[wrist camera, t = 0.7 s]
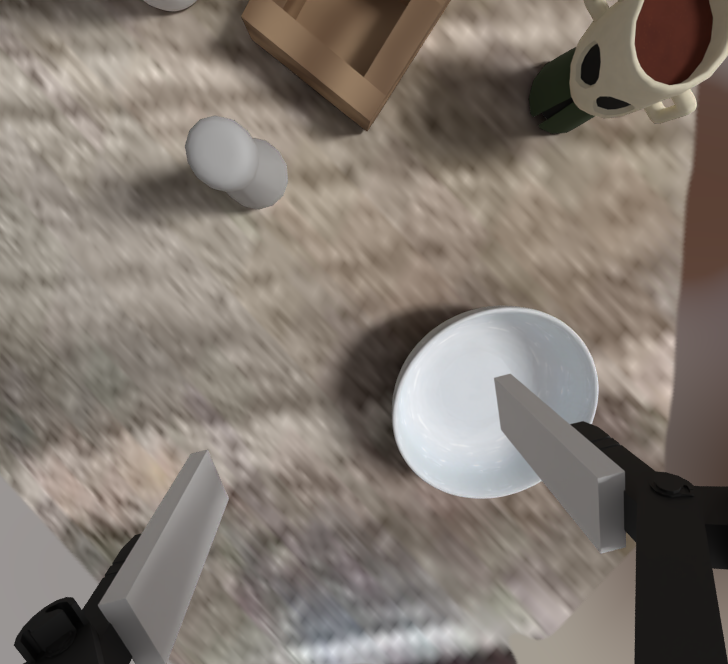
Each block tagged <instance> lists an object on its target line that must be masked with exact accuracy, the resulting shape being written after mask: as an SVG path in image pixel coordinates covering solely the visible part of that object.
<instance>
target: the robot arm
mask: <svg viewBox="0 0 728 664" xmlns="http://www.w3.org/2000/svg"><path fill="white" fill-rule="evenodd" d="M494 382H495V390H496V397H497V404H498V412H499V419H500V427H501V431H502V432H503V433H504V434H505V435H506V437H507V438H508V439H509V440H510V442H511V443H512V444H513V445H514V447H515V448H516V449H517V450H518V452H519V453H520V454H521V455H522V457H523V458H524V459H525V460H526V461H527V463H528V464H529V465H530V466H531V468H532V469H533V470H534V471H535V473H536V474H537V475H538V476H539V478H540V479H541V480H542V481H543V483H544V484H545V485H546V486H547V488H548V489H549V490H550V491H551V492H552V494H553V495H554V496H555V497H556V499H557V500H558V501H559V502H560V504H561V505H562V506H563V507H564V509H565V510H566V511H567V512H568V514H569V515H570V516H571V517H572V518H573V520H574V521H575V522H576V523H577V525H578V526H579V527H580V528H581V530H582V531H583V532H584V533H585V535H586V536H587V537H588V538H589V540H590V541H591V542H592V543H593V545H594V546H595V547H596V548H597V549H598V551H599V552H600V553H605V552H609V551H613V550H616V549H620V548H624V547H626V532H627V533H628V534H629V535H630V537H631V538H632V539H633V540H634V541H635V542H636V597H635V602H636V603H635V664H728V661H727V655H726V649H725V642H724V637H723V630H722V625H721V619H720V613H719V607H718V600H717V595H716V588H715V583H714V576H713V570H712V568H714V569H715V568H716V569H728V487H711V486H710V487H709V486H693V485H692V484H691V483H690V482H689V481H687V480H685V479H683V478H681V477H679V476H677V475H673V474H669V473H666V472H656V471H654V470H653V469H652V468H650V467H649V466H648V465H647V464H645V463H644V462H643V461H641V460H640V459H639V458H638V457H636V456H635V455H634V454H632V453H631V452H630V451H628V450H627V449H626V448H625V447H623V446H622V445H621V446H620V444H619V443H618V442H617V441H616V440H614V439H613V438H610V436H609V435H608V434H607V433H605V432H604V431H603V430H601V429H600V428H599V427H597V426H594V425H592V424H589V423H587V422H584V421H581V422H577V423H573V424H569V423H568V422H567V421H565V420H564V419H563V418H562V417H561V416H560V415H558V414H557V413H556V412H555V411H554V410H553V409H551V408H550V407H549V406H548V405H547V404H546V403H544V402H543V401H542V400H541V399H540V398H539V397H537V396H536V395H535V394H534V393H533V392H531V391H530V390H529V389H528V388H527V387H526V386H524V385H523V384H522V383H521V382H520V381H519V380H517V379H516V378H515V377H514V376H513V375H512V374H507V375H503V376H499V377H495V378H494ZM228 500H229V497H228V495H227V493H226V491H225V488H224V486H223V484H222V481H221V479H220V477H219V474H218V472H217V470H216V467H215V465H214V463H213V461H212V458H211V456H210V454H209V451H208V450H204V451H200V452H196V453H192V454H190V456H189V458H188V459H187V461H186V463H185V464H184V466H183V467H182V469H181V471H180V472H179V474H178V476H177V477H176V479H175V480H174V482H173V484H172V485H171V487H170V489H169V490H168V492H167V494H166V495H165V497H164V498H163V500H162V502H161V503H160V505H159V507H158V508H157V510H156V511H155V513H154V515H153V516H152V518H151V520H150V521H149V523H148V524H147V526H146V528H145V529H144V531H143V533H142V534H138V535H135V536H134V537H133V538H132V539H131V540H130V541H129V542H128V543H127V544H126V545H125V546H124V547H123V548H122V549H121V551H120V552H119V554H118V555H117V557H116V558H115V560H114V562H113V565H112V566H110V568H109V569H108V571H107V572H106V574H105V578H103V579H102V580H101V582H100V583H99V585H98V586H97V588H96V589H95V591H94V592H93V594H92V596H91V597H90V599H89V600H88V602H87V603H86V605H85V606H84V608H83V609H82V610H81V608H80V607H79V605H78V604H77V602H76V601H75V600H74V598H71V597H65V598H62V599H59V600H56V601H55V602H53V603H51V604H49V605H48V606H46V607H44V608H43V609H42V610H41V611H39V612H38V613H37V614H36V615H34V616H33V617H32V618H31V619H30V620H29V621H28V623H27V624H26V625H25V626H24V627H23V628H22V630H21V631H20V633H19V634H18V635H17V637H16V640H15V644H14V646H15V647H16V649H17V650H18V651H19V652H20V654H21V655H22V656H23V658H24V659H25V660H26V661H27V662H26V663H24V664H129V663H130V661H131V659H133V661H134V662H135V664H167V661H168V659H169V656H170V653H171V651H172V648H173V645H174V643H175V640H176V637H177V635H178V632H179V629H180V627H181V624H182V621H183V619H184V616H185V614H186V611H187V608H188V606H189V603H190V600H191V598H192V595H193V592H194V590H195V587H196V584H197V582H198V579H199V576H200V574H201V571H202V568H203V566H204V563H205V561H206V558H207V555H208V553H209V550H210V547H211V545H212V542H213V539H214V537H215V534H216V531H217V529H218V526H219V523H220V521H221V518H222V515H223V513H224V510H225V507H226V505H227V502H228Z"/></svg>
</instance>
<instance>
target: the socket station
mask: <svg viewBox="0 0 728 664" xmlns="http://www.w3.org/2000/svg"><path fill="white" fill-rule="evenodd" d="M450 1H451V0H249V2H248V4H247V6H246V8H245V10H244V12H243V14H242V16H241V17H242V20H243V22H244V24H245V26H246V28H247V30H248V32H249V35H250V37H251V39H252V40H253V41H254V42H256V43H257V44H258V45H259V46H261V47H262V48H263V49H264V50H266V51H267V52H268V53H269V54H271V55H272V56H273V57H274V58H276V59H277V60H278V61H279V62H281V63H282V64H283V65H284V66H286V67H287V68H288V69H289V70H291V71H292V72H293V73H294V74H296V75H297V76H298V77H299V78H301V79H302V80H303V81H304V82H306V83H307V84H308V85H309V86H311V87H312V88H313V89H314V90H316V91H317V92H318V93H319V94H321V95H322V96H323V97H324V98H326V99H327V100H328V101H329V102H331V103H332V104H333V105H334V106H336V107H337V108H338V109H339V110H341V111H342V112H343V113H344V114H346V115H347V116H348V117H349V118H351V119H352V120H353V121H354V122H356V123H357V124H358V125H359V126H361V127H362V128H363V129H364V130H366V131H368V130H369V128H370V126H371V125H372V123H373V122H374V121H375V119H376V118H377V116H378V114H379V113H380V111H381V110H382V108H383V107H384V105H385V103H386V102H387V100H388V99H389V97H390V96H391V94H392V92H393V91H394V89H395V88H396V86H397V84H398V83H399V81H400V80H401V78H402V77H403V75H404V73H405V72H406V70H407V69H408V67H409V65H410V64H411V62H412V61H413V59H414V58H415V56H416V54H417V53H418V51H419V50H420V48H421V47H422V45H423V43H424V42H425V40H426V39H427V37H428V35H429V34H430V32H431V31H432V29H433V28H434V26H435V24H436V23H437V21H438V20H439V18H440V17H441V15H442V13H443V12H444V10H445V9H446V7H447V5H448V4H449V2H450Z"/></svg>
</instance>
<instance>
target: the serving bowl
mask: <svg viewBox="0 0 728 664" xmlns="http://www.w3.org/2000/svg"><path fill="white" fill-rule="evenodd" d="M507 374H512V375H513V376H514V377H515V378H516V379H517V380H519V381H520V382H521V383H522V384H523V385H524V386H526V387H527V388H528V389H529V390H530V391H531V392H533V393H534V394H535V395H536V396H537V397H539V398H540V399H541V400H542V401H543V402H544V403H546V404H547V405H548V406H549V407H550V408H551V409H553V410H554V411H555V412H556V413H557V414H558V415H560V416H561V417H562V418H563V419H564V420H565V421H567V422H568V423H569V424H573V423H577V422H581V421H584V422H587V423H589V424H592V422H593V418H594V415H595V412H596V407H597V402H598V377H597V372H596V368H595V364H594V361H593V358H592V356H591V354H590V352H589V350H588V348H587V347H586V345H585V344H584V342H583V341H582V339H581V338H580V337H579V336H578V335H577V334H576V333H575V332H574V331H573V330H572V329H571V328H570V327H569V326H567V325H566V324H565V323H564V322H562V321H560V320H559V319H557V318H555V317H553V316H551V315H549V314H547V313H544V312H541V311H538V310H535V309H530V308H524V307H517V306H489V307H483V308H478V309H474V310H470V311H467V312H464V313H461V314H459V315H456V316H454V317H452V318H450V319H448V320H446V321H445V322H443V323H441V324H440V325H438V326H437V327H435V328H434V329H433V330H431V331H430V332H429V333H428V334H427V335H426V336H425V337H424V338H423V339H422V340H421V341H420V342H419V343H418V344H417V345H416V346H415V347H414V349H413V350H412V351H411V353H410V354H409V356H408V357H407V359H406V360H405V362H404V364H403V366H402V368H401V370H400V373H399V375H398V378H397V381H396V384H395V388H394V393H393V399H392V427H393V433H394V437H395V441H396V444H397V447H398V449H399V451H400V453H401V455H402V457H403V458H404V460H405V462H406V463H407V464H408V466H409V467H410V468H411V469H412V471H413V472H414V473H415V474H417V475H418V476H419V477H420V478H421V479H422V480H424V481H425V482H427V483H428V484H430V485H431V486H433V487H435V488H437V489H439V490H441V491H443V492H446V493H449V494H452V495H456V496H460V497H467V498H496V497H502V496H506V495H510V494H514V493H517V492H520V491H522V490H525V489H527V488H530V487H532V486H534V485H536V484H537V483H539V482H541V481H542V480H541V479H540V478H539V476H538V475H537V474H536V473H535V471H534V470H533V469H532V468H531V466H530V465H529V464H528V463H527V461H526V460H525V459H524V458H523V457H522V455H521V454H520V453H519V452H518V450H517V449H516V448H515V447H514V445H513V444H512V443H511V442H510V440H509V439H508V438H507V437H506V435H505V434H504V433H503V432H502V431H501V427H500V419H499V412H498V404H497V397H496V390H495V382H494V378H495V377H499V376H503V375H507Z"/></svg>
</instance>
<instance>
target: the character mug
mask: <svg viewBox="0 0 728 664" xmlns="http://www.w3.org/2000/svg"><path fill="white" fill-rule="evenodd" d="M584 3H585V6H586V8H587V10H588V11H589V13H590V15H591V17H592V18H593V20H594V21H593V22H592V23H591V25H590V26H589V28H588V29H587V30H586V32H585V33H584V35H583V36H582V37H581V39H580V40H579V43H578V45H577V47H575V48H573V49H571V50H569V51H568V52H566V53H564V54H562V55H561V56H559V57H557V58H556V59H554V60H552V61H551V62H549V63H548V64H546V65H545V66H544V67H543V68H542V70H541V71H540V73H539V74H538V75H537V77H536V78H535V79H534V81H533V84H532V88H531V92H530V96H529V103H530V111H531V115H532V116H533V117H534V116H536V115H538V114H540V113H542V114H543V116H544V117H545V118H546V119H547V120H546V121H544V122H543V123H541V124H539V127H540V128H541V129H543V130H545V131H547V132H550V133H552V134H555V133H567V132H569V131H571V130H572V129H574V128H576V127H578V126H580V125H581V124H583V123H585V122H586V121H588V120H590V119H591V118H593V117H595V116H597V117H600V118H604V119H605V118H618V117H622V116H625V115H627V114H630V113H633V112H636V111H638V110H641V109H643V108H644V109H645V111H646V113H647V115H648V116H649V118H650V120H651V121H652V122H653V123H654V124H661V123H664V122H667V121H670V120H673V119H677V118H680V117H683V116H686V115H688V114H690V113H692V112H693V111H694V110H695V109H696V106H697V103H696V99H695V97H694V95H693V93H692V91H691V88H693V87H694V86H696V85H697V84H699V83H701V82H702V81H704V80H706V79H707V78H709V77H710V76H711V75H712V74H713V73H714V72H715V70H716V69H717V68H718V67H719V66H720V64H721V63H722V62H723V61H724V59H725V58H726V57H727V55H728V0H618V2H616V3H615V4H614V5H613V6H611V7H610V8H609V6H608V4H607V2H606V0H584ZM669 98H672V100H673V102H674V104H675V105H674V106H671V107H668V108H665V107H664V105H663V104H662V102H661V101H663V100H666V99H669Z"/></svg>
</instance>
